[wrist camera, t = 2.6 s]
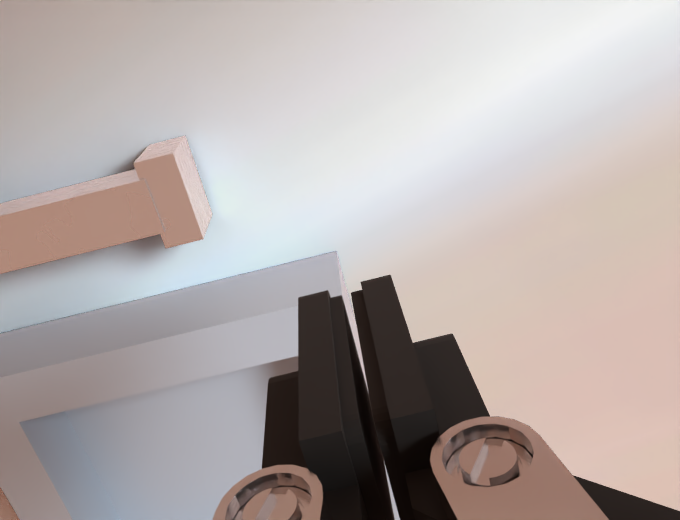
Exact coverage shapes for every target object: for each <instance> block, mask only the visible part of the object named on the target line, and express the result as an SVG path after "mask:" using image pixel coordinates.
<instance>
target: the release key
mask: <svg viewBox="0 0 680 520" xmlns="http://www.w3.org/2000/svg"><path fill="white" fill-rule="evenodd" d="M133 165H134V168H135V169H133V170H129V171H125V172H122V173H118V174H114V175H110V176H106V177H102V178H98V179H94V180H90V181H86V182H82V183H78V184H74V185H70V186H66V187H63V188H59V189H55V190H51V191H47V192H43V193H39V194H35V195H31V196H27V197H23V198H19V199H15V200H11V201H8V202H4V203H0V274H2V273H6V272H10V271H14V270H18V269H22V268H26V267H30V266H34V265H38V264H42V263H46V262H50V261H54V260H58V259H62V258H66V257H70V256H74V255H78V254H82V253H86V252H90V251H94V250H98V249H102V248H106V247H110V246H114V245H118V244H122V243H126V242H130V241H134V240H138V239H142V238H146V237H150V236H154V235H158V234H160V235H161V238H162V240H163V243H164V245H165V248H169V247H173V246H177V245H181V244H185V243H189V242H193V241H197V240H201V239H204V236H205V234H206V231H207V228H208V225H209V223H210V220H211V217H212V211H211V208H210V205H209V202H208V199H207V196H206V194H205V191H204V188H203V185H202V182H201V179H200V176H199V173H198V170H197V167H196V164H195V162H194V159H193V156H192V153H191V150H190V147H189V144H188V141H187V138H186V135H185V136H181V137H177V138H174V139H170V140H166V141H162V142H158V143H154V144H150V145H149V146H148V147H147V148H146V149H145V150H144V151H143V152H142V154H141V155H140V156H139V157H138V158H137V159H136V160H135V162H134V163H133Z"/></svg>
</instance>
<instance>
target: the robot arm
mask: <svg viewBox="0 0 680 520" xmlns="http://www.w3.org/2000/svg"><path fill="white" fill-rule="evenodd" d="M361 285H362V290H360V291H356V292H352V293H351V296H352V302H353V308H354V313H355V319H356V324H357V330H358V336H359V341H360V347H361V353H362V358H363V364H364V370H365V375H366V381H367V386H366V382H365V379H364V375H363V371H362V367H361V364H360V360H359V356H358V353H357V349H356V345H355V341H354V338H353V334H352V330H351V327H350V323H349V319H348V316H347V312H346V308H345V304H344V301H343V298H342V295H340V296H336V297H331V296H330V293H329V291H328V290H326V291H322V292H318V293H314V294H310V295H306V296H302V297H298V371H295V372H291V373H287V374H283V375H279V376H274V377H271V378H269V381H268V389H267V403H266V416H265V430H264V444H263V458H262V469H261V470H258V471H256V472H254V473H252V474H250V475H248V476H246V477H245V478H243V479H242V480H240V481H239V482H238V483H236V484H235V485H234V486H232V488H231V489H230V490H229V491H228V492H227V493H226V494H225V495H224V496H223V498H222V499H221V501H220V503H219V505H218V507H217V509H216V511H215V514H214V517H213V520H395V519H394V513H393V508H392V502H391V497H390V492H389V486H388V481H387V475H386V470H387V474H388V477H389V481H390V485H391V488H392V492H393V496H394V499H395V503H396V507H397V511H398V514H399V518H400V520H680V511H677V510H674V509H671V508H668V507H665V506H662V505H659V504H656V503H653V502H651V501H648V500H645V499H642V498H639V497H636V496H633V495H630V494H627V493H624V492H621V491H618V490H615V489H612V488H609V487H606V486H603V485H600V484H597V483H594V482H591V481H588V480H585V479H582V478H579V477H576V476H573V475H572V474H571V473H570V471H569V470H568V469H567V468H566V467H565V465H564V464H563V463H562V462H561V460H560V459H559V458H558V457H557V456H556V454H555V453H554V452H553V451H552V450H551V448H550V447H549V446H548V445H547V443H546V442H545V441H544V440H543V439H542V437H541V436H540V435H539V434H538V433H537V432H536V431H534V430H533V429H532V428H531V427H530V426H528V425H526V424H524V423H522V422H519V421H517V420H515V419H510V418H505V417H499V416H492V417H490V415H489V413H488V411H487V409H486V406H485V404H484V402H483V400H482V398H481V395H480V393H479V391H478V389H477V386H476V384H475V382H474V380H473V378H472V375H471V373H470V371H469V369H468V366H467V364H466V362H465V360H464V358H463V355H462V353H461V351H460V349H459V346H458V344H457V342H456V340H455V338H454V336H453V334H448V335H444V336H439V337H435V338H431V339H427V340H423V341H419V342H415V343H412V340H411V337H410V333H409V330H408V327H407V324H406V321H405V318H404V315H403V312H402V309H401V306H400V303H399V300H398V297H397V294H396V290H395V287H394V284H393V281H392V278H391V275H387V276H383V277H379V278H375V279H371V280H367V281H363V282H361ZM367 387H368V390H367ZM368 392H369V393H368ZM384 463H385V464H384ZM385 466H386V470H385Z"/></svg>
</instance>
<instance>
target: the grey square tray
mask: <svg viewBox="0 0 680 520" xmlns="http://www.w3.org/2000/svg"><path fill="white" fill-rule="evenodd" d="M326 290H328V291H329V293H330V296H331V297H336V296H340V295H342V298H343V301H344V304H345V308H346V312H347V316H348V319H349V323H350V327H351V330H352V334H353V338H354V341H355V345H356V349H357V353H358V356H359V360H360V364H361V367H362V371H363V375H364V379H365V382H366V386H367V381H366V375H365V370H364V364H363V358H362V353H361V347H360V341H359V336H358V330H357V326H356V322H355V319H354V315H353V311H352V307H351V304H350V300H349V296H348V292H347V289H346V285H345V281H344V277H343V274H342V270H341V266H340V262H339V258H338V255H337V251H335V252H331V253H326V254H322V255H318V256H314V257H310V258H306V259H302V260H298V261H294V262H290V263H286V264H282V265H277V266H273V267H269V268H265V269H261V270H257V271H253V272H249V273H245V274H241V275H237V276H232V277H228V278H224V279H220V280H216V281H212V282H208V283H204V284H200V285H196V286H192V287H187V288H183V289H179V290H175V291H171V292H167V293H163V294H159V295H155V296H151V297H147V298H143V299H138V300H134V301H130V302H126V303H122V304H118V305H114V306H110V307H106V308H102V309H98V310H93V311H89V312H85V313H81V314H77V315H73V316H69V317H65V318H61V319H57V320H53V321H49V322H44V323H40V324H36V325H32V326H28V327H24V328H20V329H16V330H12V331H8V332H4V333H0V488H1V489H2V491H3V493H4V494H5V496H6V498H7V499H8V501H9V503H10V504H11V506H12V508H13V509H14V511H15V513H16V514H17V516H18V518H19V519H20V520H213V517H214V514H215V511H216V509H217V507H218V505H219V503H220V501H221V499H222V498H223V496H224V495H225V494H226V493H227V492H228V491H229V490H230V489H231V488H232V486H234V485H235V484H236V483H238V482H239V481H240V480H242V479H243V478H245V477H246V476H248V475H250V474H252V473H254V472H256V471H258V470H261V469H262V458H263V444H264V430H265V416H266V403H267V389H268V381H269V378H271V377H274V376H279V375H283V374H287V373H291V372H295V371H298V297H302V296H306V295H310V294H314V293H318V292H322V291H326ZM367 390H368V387H367ZM368 393H369V392H368ZM384 464H385V463H384ZM385 470H386V466H385ZM386 475H387V481H388V486H389V492H390V497H391V502H392V508H393V513H394V519H395V520H400V518H399V514H398V511H397V507H396V503H395V499H394V496H393V492H392V488H391V485H390V481H389V477H388V474H387V470H386Z"/></svg>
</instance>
